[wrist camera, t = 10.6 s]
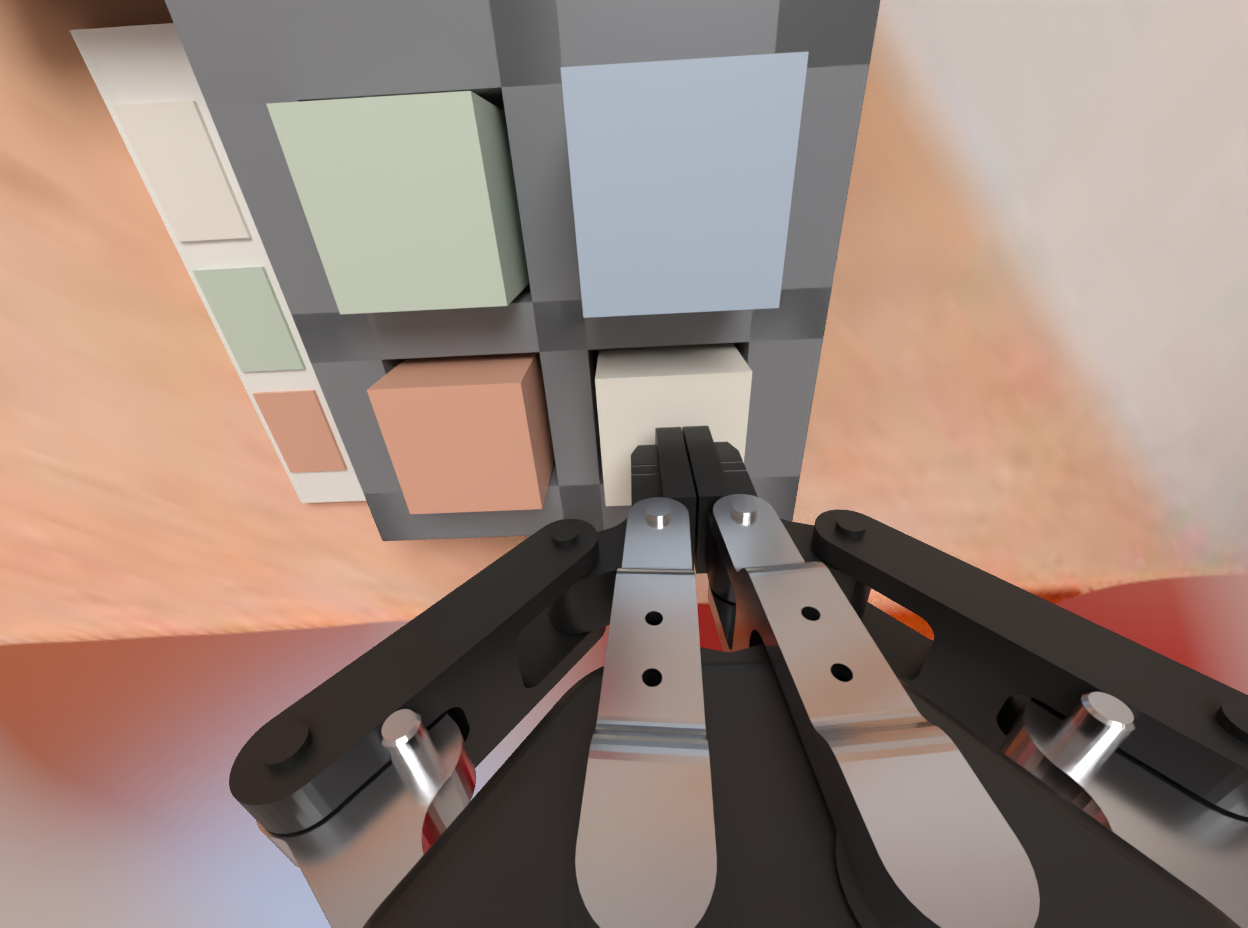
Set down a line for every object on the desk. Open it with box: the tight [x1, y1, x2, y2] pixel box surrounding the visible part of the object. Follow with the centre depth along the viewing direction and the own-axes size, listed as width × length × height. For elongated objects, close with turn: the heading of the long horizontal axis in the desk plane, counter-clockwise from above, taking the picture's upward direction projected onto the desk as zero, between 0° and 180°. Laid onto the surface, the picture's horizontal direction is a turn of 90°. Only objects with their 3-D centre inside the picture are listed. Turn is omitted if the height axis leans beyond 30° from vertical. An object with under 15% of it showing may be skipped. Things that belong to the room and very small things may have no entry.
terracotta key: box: [367, 352, 555, 514], centre depth 16 cm, size 4×4×4 cm
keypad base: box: [165, 0, 880, 541], centre depth 16 cm, size 16×16×4 cm
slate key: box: [560, 52, 809, 318], centre depth 11 cm, size 4×4×4 cm
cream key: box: [595, 343, 752, 506], centre depth 16 cm, size 4×4×4 cm
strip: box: [69, 23, 366, 503], centre depth 17 cm, size 3×16×1 cm, turn 3°
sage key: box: [266, 91, 530, 314], centre depth 13 cm, size 4×4×4 cm
